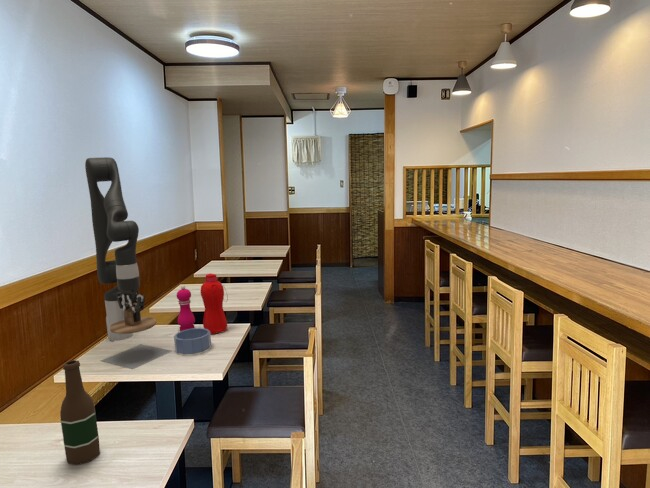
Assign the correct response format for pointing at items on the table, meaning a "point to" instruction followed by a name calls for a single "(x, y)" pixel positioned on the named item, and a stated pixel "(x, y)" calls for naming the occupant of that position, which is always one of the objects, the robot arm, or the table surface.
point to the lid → (132, 324)
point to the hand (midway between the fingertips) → (132, 320)
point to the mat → (136, 356)
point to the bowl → (192, 341)
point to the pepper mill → (185, 310)
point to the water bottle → (213, 305)
